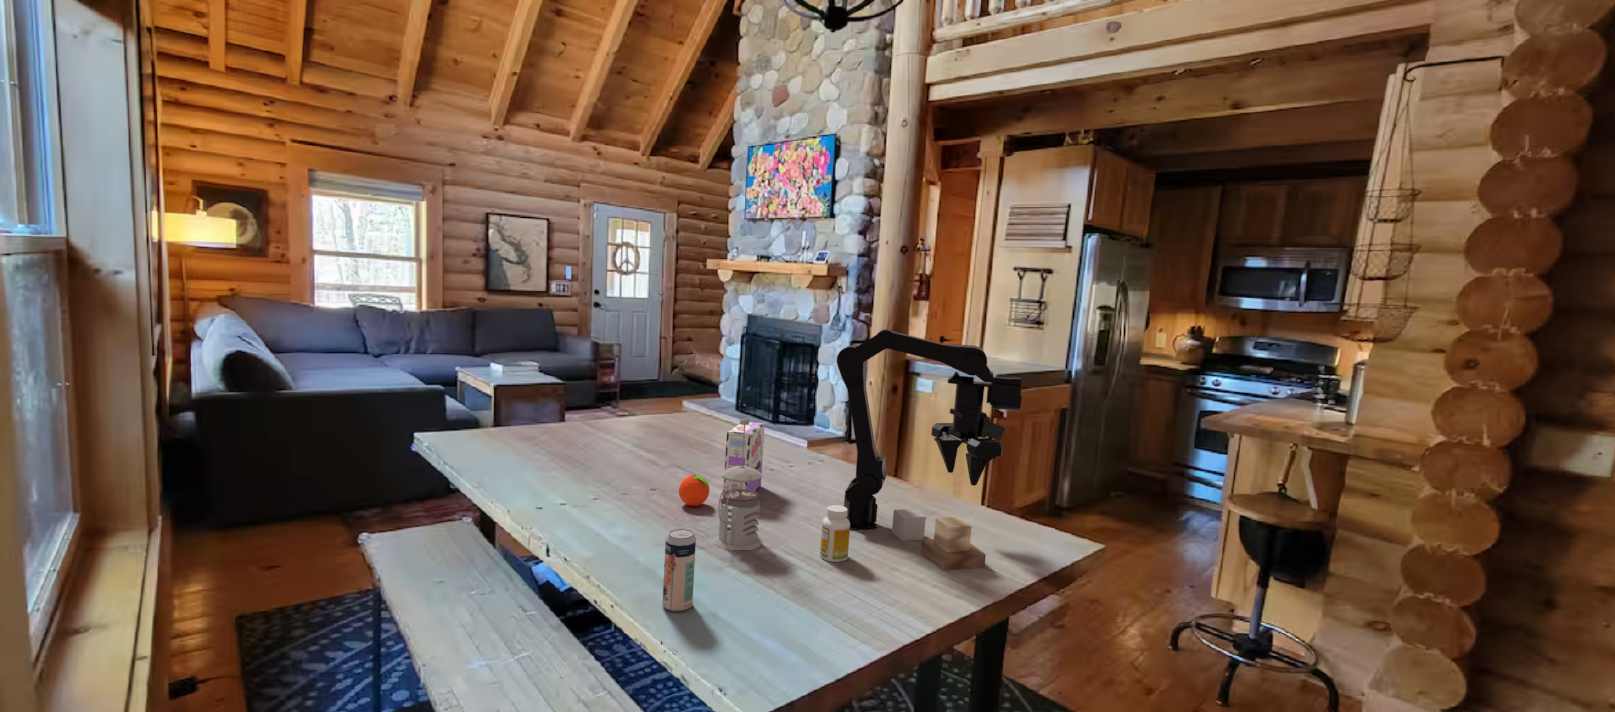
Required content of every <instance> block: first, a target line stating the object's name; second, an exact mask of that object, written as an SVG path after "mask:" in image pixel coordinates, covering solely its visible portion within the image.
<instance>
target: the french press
mask: <svg viewBox="0 0 1615 712" xmlns="http://www.w3.org/2000/svg"><path fill="white" fill-rule="evenodd" d="M749 422H750V420H749V419H748V418H741V419H740V420H739V424H741V425H744V435H743V452H742V466H734V467H730V468H728V469H727V470H725V469H724V470H723V471H722V472H720V476H721V478H722V479H723V480H724V479H725V480H728V481H732V482H741V487H740V489H737V488H736V489H735V487H733V488H732V489H729V490H728V486H725V488H726V487H727V490H726V491H725V492H724V489H725V488H724V487H723V489H722V491H721V493H720V496H719V499H718V507H717V508H718V509H717V512H718V513H717V514H718V519H719V522H718V523H719V524H718V534H717V535H716V537H714V538H713V539H714V543H713V545H715V544H717V545H718V546H719V547H722V548H724V549H723V550H725V549H727V550H726V551H730V550H748V551H753V550H755V549H758V548H760V547H761V546H760V545H761V544H762V545H763V541H762V539H761V537H759V534H758V533H757V532H759V527H758V526H759V524H760V523H759V521H758V520H759V519H760V516H759V514H758V513H760V506H761V503H760V500H759V499H758V498H759V493H757V491H751V490H747V489H746V490H745V489H741V488H742V482H753V481H757V480H759V479H760V478H761V479H762V477H763V474H761V473H760V472H759V471H757V470H756V469H754V468H751V467H747V466H743V454H744V437H745V425H749ZM723 497H724V498H723ZM729 507H731V508H729ZM729 513H730V514H731V515H730V514H729ZM729 519H730V521H729ZM757 519H758V520H757ZM728 525H729V526H730V527H729V526H728ZM719 547H718V548H719ZM722 548H721V549H722Z"/></svg>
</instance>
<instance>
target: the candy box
mask: <svg viewBox="0 0 1615 712" xmlns="http://www.w3.org/2000/svg"><path fill="white" fill-rule="evenodd" d="M764 434H765V423H763V422H757V421H756V422H754V421H749V425H745V437H744V454H743V466H747V467H751V468H754V469H756V470H757V471H759V472H760V473H761V474H762V471H763V454H764V440H765V439H764V438H765V437H764V436H765V435H764ZM743 435H744V425H741V424H740V423H739V424H737V425H736V426H733V428H731V429H730V430H727V431H726V441H725V442H726V443H725V444H726V445H725V459H724V471H725V470H727V469H728V468H730V467H734V466H742V452H743ZM762 475H763V474H762ZM725 486H728V490H729V489H732V488H733V487H735V489H736V488H737V489H740V487H741V482H732V481H728V480H725V479H724V478H723V489H724V488H725ZM760 487H762V477H761V478H760V479H759V480H757V481H753V482H742V488H741V489H745V490H746V489H747V490H751V491H755V492H757V490H758V489H760ZM726 490H727V487H726V488H725V489H724V492H725V491H726ZM723 498H724V497H723V496H722V499H723Z"/></svg>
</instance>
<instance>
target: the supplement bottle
mask: <svg viewBox="0 0 1615 712" xmlns="http://www.w3.org/2000/svg"><path fill="white" fill-rule="evenodd" d="M847 512H848V509H847V508H846V507H844V505H840V504H839V505H838V504H836V505H835V504H834V505H833V504H832V505H828V506H827V507H826V516H825V517H823V519H822V521H821V522H822V523H821V531H820V532H821V533H820V534H821V535H820V548H819V549H820V550H819V556H820V557H821V558H822V560H825V561H827V562H831V563H841V561H842V562H845V561H847V559H848V557H849V546H850V544H849V543H850V532H851V531H850V530H851V529H850V522H849V520H848V519H847V518H846V517H847Z"/></svg>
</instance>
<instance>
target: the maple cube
mask: <svg viewBox="0 0 1615 712" xmlns="http://www.w3.org/2000/svg"><path fill="white" fill-rule="evenodd" d="M972 527H973V526H972V525H971V524H970V523H968V522H967V521H965V520H964V519H962V518H960V517H959V516H949V517H936V518H935V523H934V534H933V535H934V537H933V539H934V543H935V544H936V545H938V546H939V547H940V548H942V549H943V550H944V551H945V552H958V551H969V548H970V544H971V538H972V536H971V535H972Z"/></svg>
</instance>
